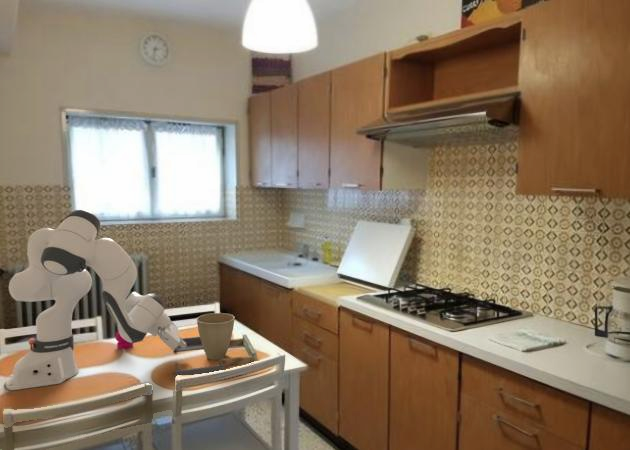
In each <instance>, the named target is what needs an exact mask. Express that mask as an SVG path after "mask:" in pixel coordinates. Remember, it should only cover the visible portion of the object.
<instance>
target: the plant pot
mask: <svg viewBox="0 0 630 450" xmlns="http://www.w3.org/2000/svg"><path fill="white" fill-rule="evenodd" d="M196 324H197V330H198V334H199V335H198V336H199V337H200V339H201V343H202V346H203V349H202V350H203V352H204V354H205V356H206V358H207V359H208V360H212V361H214V360H215V361H217V360H218V361H219V359H221V358H222V359H225V357H226V355H227V353H228V350H229V347H230V346H229V344H230V340H231V339H232V336H233V331H234V326H235V316H234V315H233V314H231V313H223V312H214V313H213V312H212V313H211V312H210V313H205V314H202V315H200V316H198V317H196Z"/></svg>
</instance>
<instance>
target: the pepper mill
mask: <svg viewBox="0 0 630 450" xmlns="http://www.w3.org/2000/svg"><path fill="white" fill-rule="evenodd" d="M115 340H116V342H117V344H116V345H117V346H116V347H117V349H120V350H126V349H130V348H132V347H133V346H134V343H129V342H127V341H126V340H124V339H123V338H122V337H121V336H120V334H119V333H118V330H117V331H116V333H115Z"/></svg>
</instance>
